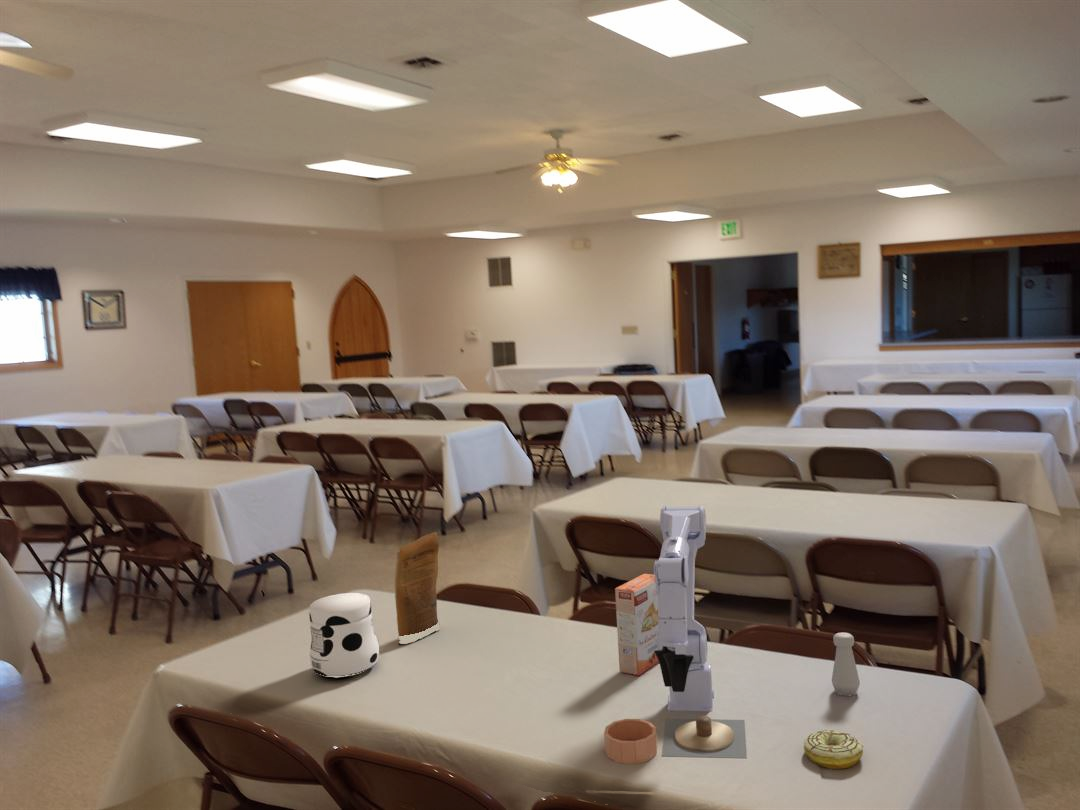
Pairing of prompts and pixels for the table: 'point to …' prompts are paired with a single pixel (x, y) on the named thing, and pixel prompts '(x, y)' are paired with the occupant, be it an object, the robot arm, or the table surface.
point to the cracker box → (637, 624)
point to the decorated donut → (833, 749)
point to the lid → (704, 735)
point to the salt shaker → (844, 665)
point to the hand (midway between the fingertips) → (674, 689)
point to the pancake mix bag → (417, 585)
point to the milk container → (342, 635)
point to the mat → (731, 751)
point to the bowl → (630, 740)
